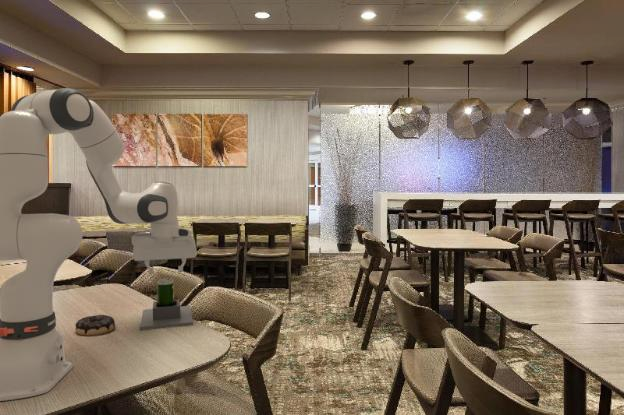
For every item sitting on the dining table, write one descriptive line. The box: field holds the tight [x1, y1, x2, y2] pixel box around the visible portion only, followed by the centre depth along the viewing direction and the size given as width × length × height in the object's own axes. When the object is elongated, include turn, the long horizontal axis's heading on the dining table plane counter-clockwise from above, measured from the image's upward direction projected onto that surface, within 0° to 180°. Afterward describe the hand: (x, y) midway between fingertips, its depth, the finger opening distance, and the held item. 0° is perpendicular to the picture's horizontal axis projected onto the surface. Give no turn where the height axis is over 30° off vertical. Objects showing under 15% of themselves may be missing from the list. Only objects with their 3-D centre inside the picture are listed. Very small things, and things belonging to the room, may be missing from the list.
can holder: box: [139, 299, 194, 331], centre depth 162 cm, size 20×16×5 cm
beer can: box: [156, 277, 175, 307], centre depth 162 cm, size 5×5×12 cm
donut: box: [74, 314, 116, 336], centre depth 150 cm, size 11×12×4 cm
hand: (166, 272), depth 161 cm, fingers open, 8 cm apart
